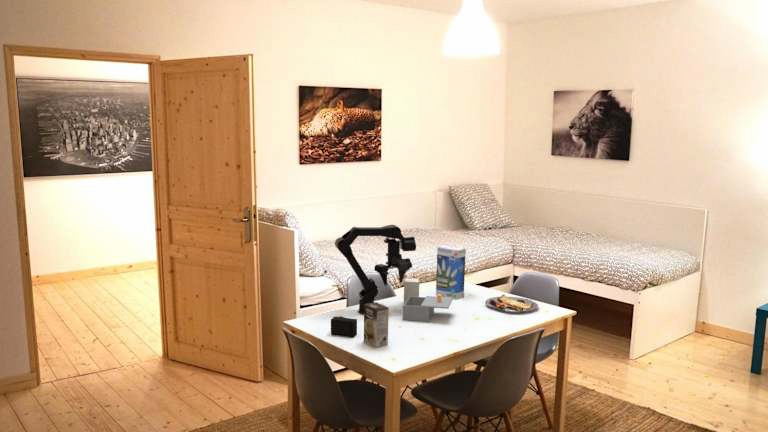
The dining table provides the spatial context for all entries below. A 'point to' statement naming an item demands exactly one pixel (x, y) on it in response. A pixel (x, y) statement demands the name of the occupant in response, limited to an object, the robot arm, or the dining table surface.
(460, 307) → the dining table surface
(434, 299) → the lid
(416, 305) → the carton
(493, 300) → the food plate
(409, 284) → the supplement box
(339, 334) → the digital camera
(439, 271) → the string lights box
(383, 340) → the coffee box
